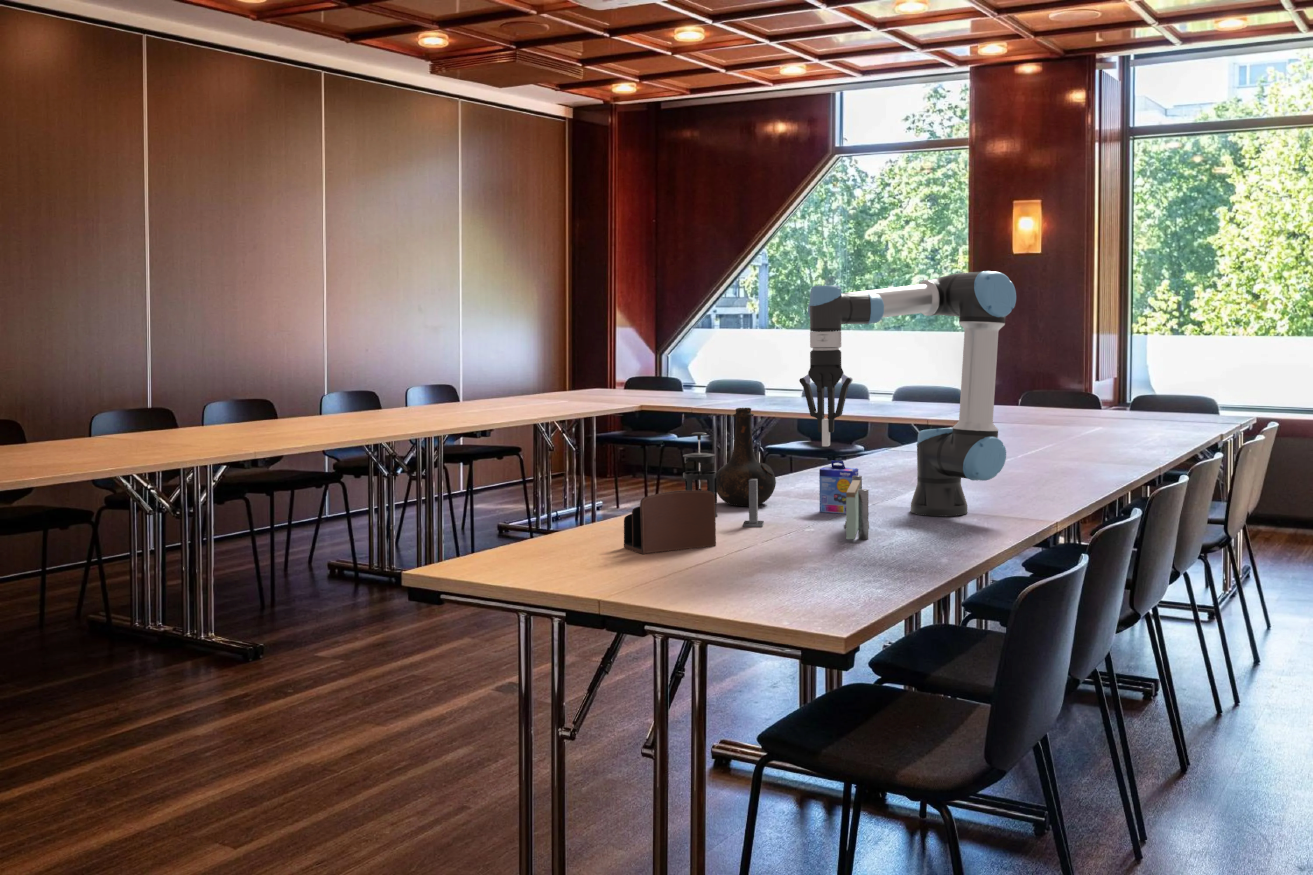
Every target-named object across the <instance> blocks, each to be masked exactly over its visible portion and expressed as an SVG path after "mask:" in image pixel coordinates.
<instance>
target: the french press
mask: <svg viewBox="0 0 1313 875" xmlns="http://www.w3.org/2000/svg"><path fill="white" fill-rule="evenodd" d="M691 435H693V436H694V435H695V436H696V437H697V441H698V452H692V453H687V454H683V455H682V457H683V458H684V463H685V464H686V463H690V462H691V463H692V462H697V463H698V470H691V471H685V472H683V473H682V477H683V479H685V481H684V483H685V488H684V489H685V490H693V481H696V480H697V481H698V483H699V486H698V490H702V488H701V481H702V480H704V481H705V480H706V484H707V485H706V488H707V489H706V491H711V492H713V493H714V495H715V515H716V518H717V517H718V512H717V511H718V510H717V503H718V494H717V472H718V471H715V470H714V471H713V470H712V471H711V470H701V465H712V464H715V458H716V456H717V455H716V454H715V453H709V452H701V440H702V436H704V435H708V434H707V433H706V432H701V431H700V432H692V433H691Z"/></svg>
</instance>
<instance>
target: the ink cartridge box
mask: <svg viewBox="0 0 1313 875" xmlns="http://www.w3.org/2000/svg"><path fill="white" fill-rule="evenodd" d="M830 464H831V466H824V467H821V468H819V471H818V472H819V473H818V474H819V478H818V479H819V480H818V481H819V484H818V485H819V513H824V514H825V513H827V514H839V515H840V514H843V515H846V492H847V490H848V488H849V486H850V484H851V482H852V476H859V468H858V467H857V468H855V467H846V465H845V462H844V460H830Z"/></svg>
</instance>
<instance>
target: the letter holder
mask: <svg viewBox="0 0 1313 875" xmlns="http://www.w3.org/2000/svg"><path fill="white" fill-rule="evenodd" d="M716 518H717V517H716V515H715V495H714V493H713V492H711V491H707V490H703V489H701V490H697V489H696V490H695V489H692V490H684V489H683V490H674V491H673V490H672V491H666V492H660V493H655V494H651V495H648V496H645V497H642V498H641V499H640V502H639V506H637V507H634V508H633V509H632V511H631V513H630V514H627V515H625V517H624V518H623V548H624V549H626V550H630V551H633V552H635V553H638V554H641V555H651V554H658V553H659V554H660V553H667V552H677V551H683V550H695V549H701V548H711V547H717V535H716V534H717V533H716V532H717V529H716V526H717V525H716V524H717V523H716Z"/></svg>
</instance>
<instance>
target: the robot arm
mask: <svg viewBox="0 0 1313 875" xmlns="http://www.w3.org/2000/svg"><path fill="white" fill-rule="evenodd" d="M1016 303H1017V291H1016V288H1015V284H1014V283H1013V281H1011V280H1010V278H1009V276H1007V275H1006V274H1005V273H1003V272H999V271H991V270H983V271H982V270H981V271H970V272H957V273H952V274H948V275H944V276H939V277H936V278H931V279H924V280H922V281H920V282H919V283H918V284H913V285H912V284H911V285H903V286H902V285H901V286H894V287H886V288H876V289H866V290H858V291H850V292H842V288H841V286H840V285H836V284H832V285H831V284H829V285H825V284H824V285H823V284H822V285H813V286H812V287H811V288H810V293H809V302H808V304H807V305H808V306H807V314H808V317H809V329H810V330H809V331H810V332H809V336H810V337H809V347H810V349H812V350H810V351H809V362H810V364H809V370H808V372H807V375H804V376H803V377H801V378H800V379H799V380H798V381H799V383H800V384H801V386H802V388H803V390H804V395H805V400H806V404H807V407H808V413H809V416H810V417H813V418H815V419H817V432H818V433H821V447H829V446H831V433H834V431H835V419H836V418H839V417H841V416H842V415H843V411H844V408H845V402H846V400H847V399H846V398H847V395H848V391H849V387H850V385H852V384H851V383H852V382H853V378H852V377H849V376H847V375H846V374H844V370H843V368H842V351H841V350H840V348H841V347H842V325H870V324H877V323H879V322H880V321H881V320H882V319H884V318H890V317H898V316H907V315H908V316H909V315H917V314H922V315H923V316H925V317H929V316H930V317H931V316H947V317H959V318H958V322H959V325H960V326H961V327H962V328H963V330H964V334H963V336H964V337H963V349H962V351H963V352H962V365H961V383H960V384H961V385H960V400H959V416H958V421H957V423H956V424H954V425H953V426H952V427H945V428H943V427H942V428H932V429H931V428H929V429H923V430H920V431H919V432H918V434H917V442H916V464H917V465H916V470H917V471H916V473H917V474H916V477H917V478H916V486H915V490H914V493H913V496H912V498H911V502H910V512H911V513H912V514H915V515H922V516H929V517H953V516H954V517H955V516H962V515H966V514H968V503H967V499H966V495H965V493H964V490H963V486H962V479H967V480H970V481H972V482H973V481H979V482H980V481H982V482H983V481H984V482H985V481H989V480H992V479H994V478H995V477H997V475H998V474H999V473H1000V472H1002V469H1004V466H1005V464H1006V460H1007V449H1006V446H1005V445H1004V442H1003V441H1002V440H1001V439H1000V438H999V429H998V427H997V426H996V425H995V424H994V412H995V411H994V408H995V392H996V376H997V363H998V361H997V360H998V346H999V345H998V344H999V343H998V342H999V331H1000V330H1001V329H1002V328H1003V327H1004V326H1005V325H1006V317H1007V316H1008V315H1009V314H1010V313H1012V310H1014V309H1015V307H1016ZM811 381H812V382H813V384H814V385H815V386H816V397H817V399H816V403H815V400H814V396H813V391H812V388H811V385H810V384H811ZM839 381H840V382H841V384H842V385H841V388H840V392H839V395H838V396H839V397H838V400H837V405H836V404H835V391H836V386H837V384H838V383H839ZM825 388H826V389H827V390H826V391H827V416H826V417H827V418H825ZM835 405H836V407H835ZM816 406H817V407H816ZM835 408H836V409H835Z"/></svg>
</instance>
